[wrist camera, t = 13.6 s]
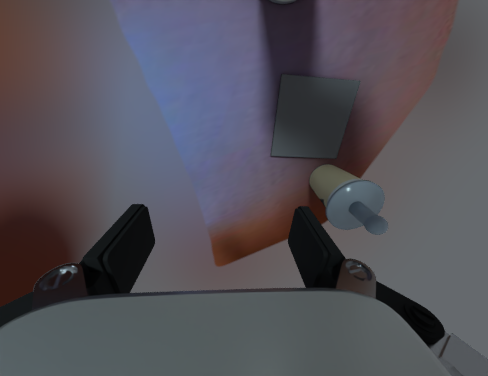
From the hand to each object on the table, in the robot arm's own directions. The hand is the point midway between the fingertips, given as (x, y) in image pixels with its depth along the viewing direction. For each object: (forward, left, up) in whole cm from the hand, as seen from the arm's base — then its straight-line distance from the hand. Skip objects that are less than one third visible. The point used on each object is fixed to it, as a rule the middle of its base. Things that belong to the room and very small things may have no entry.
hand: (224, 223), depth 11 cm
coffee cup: (+10, +25, -31) cm, 40 cm away
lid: (+10, +25, -18) cm, 33 cm away
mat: (-4, +18, -30) cm, 35 cm away
